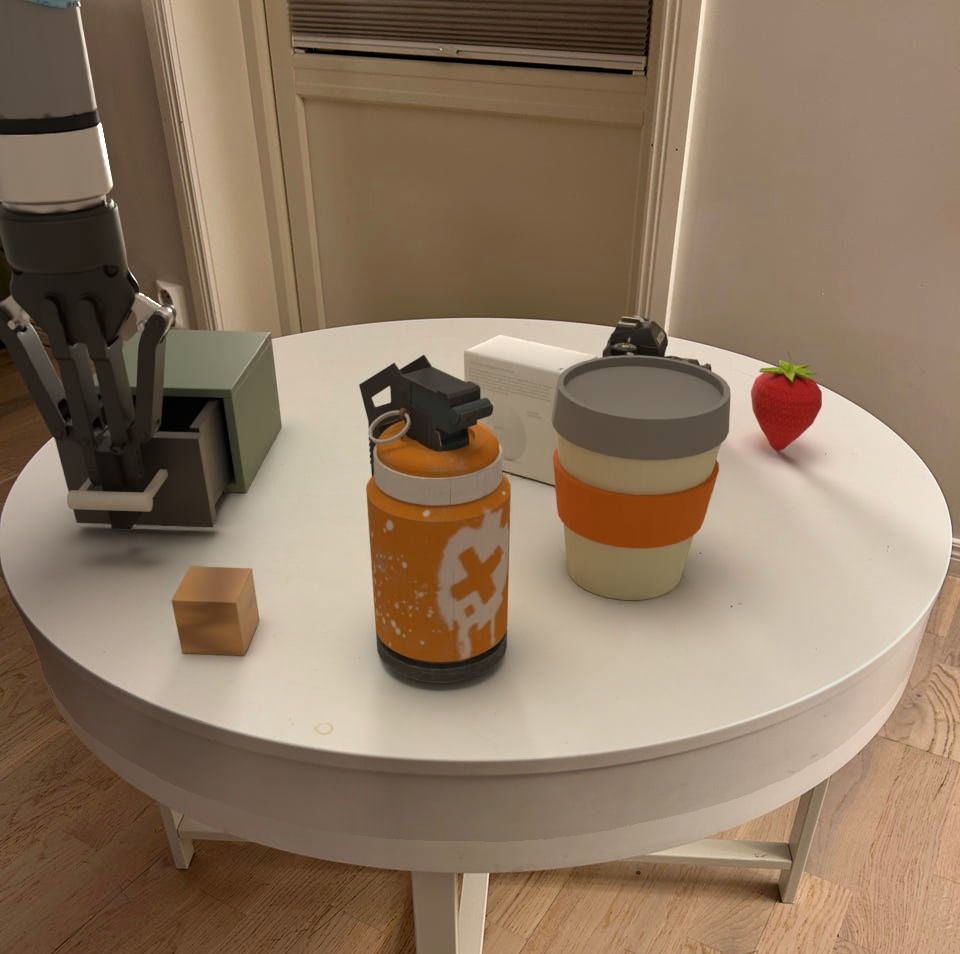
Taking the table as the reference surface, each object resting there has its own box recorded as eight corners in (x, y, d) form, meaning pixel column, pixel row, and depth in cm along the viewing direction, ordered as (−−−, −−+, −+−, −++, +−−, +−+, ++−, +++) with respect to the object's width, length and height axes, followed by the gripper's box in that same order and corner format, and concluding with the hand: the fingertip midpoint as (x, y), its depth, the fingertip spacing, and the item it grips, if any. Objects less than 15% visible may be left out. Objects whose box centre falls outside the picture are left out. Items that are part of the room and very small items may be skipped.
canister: (429, 708, 64) (420, 414, 52) (335, 632, 71) (309, 357, 59) (533, 656, 69) (545, 375, 57) (435, 589, 76) (429, 326, 64)
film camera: (723, 460, 94) (740, 357, 88) (593, 459, 94) (601, 356, 88) (691, 389, 109) (703, 296, 103) (578, 388, 109) (584, 296, 103)
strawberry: (771, 471, 92) (791, 366, 87) (728, 439, 98) (744, 338, 92) (825, 462, 94) (848, 358, 88) (780, 431, 100) (799, 332, 94)
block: (181, 653, 69) (170, 600, 66) (200, 617, 72) (190, 565, 70) (244, 655, 68) (236, 602, 66) (259, 619, 72) (252, 567, 69)
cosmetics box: (591, 462, 94) (600, 352, 88) (557, 488, 89) (564, 374, 83) (498, 436, 98) (500, 330, 92) (461, 459, 94) (460, 350, 88)
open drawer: (193, 564, 77) (175, 471, 72) (48, 558, 77) (21, 466, 73) (253, 456, 92) (242, 375, 88) (132, 452, 93) (114, 371, 88)
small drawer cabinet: (246, 493, 88) (230, 389, 83) (106, 488, 89) (81, 385, 83) (282, 426, 100) (270, 331, 94) (158, 422, 101) (140, 328, 95)
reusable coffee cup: (676, 630, 71) (705, 435, 62) (517, 587, 76) (523, 399, 67) (724, 551, 80) (754, 371, 72) (579, 517, 85) (592, 343, 76)
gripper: (171, 188, 67) (222, 501, 81) (-18, 185, 68) (64, 496, 81) (134, 214, 61) (196, 547, 75) (-73, 210, 61) (26, 542, 75)
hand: (127, 520), depth 78 cm, fingers closed
